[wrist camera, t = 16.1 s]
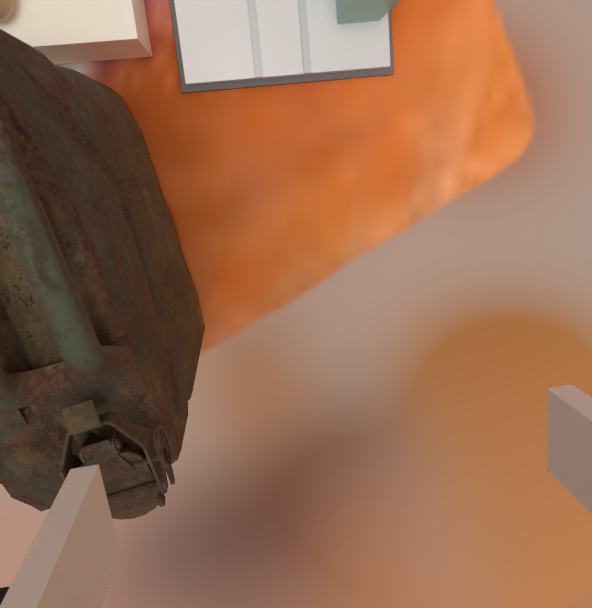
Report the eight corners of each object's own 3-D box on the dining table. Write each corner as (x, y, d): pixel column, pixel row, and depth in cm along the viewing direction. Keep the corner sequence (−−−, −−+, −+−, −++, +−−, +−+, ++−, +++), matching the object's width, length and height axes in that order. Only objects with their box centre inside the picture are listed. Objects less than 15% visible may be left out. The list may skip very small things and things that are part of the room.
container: (12, 119, 45) (-390, 48, 16) (130, 84, 45) (-59, -46, 16) (113, 363, 51) (-48, 627, 22) (216, 331, 51) (189, 552, 23)
